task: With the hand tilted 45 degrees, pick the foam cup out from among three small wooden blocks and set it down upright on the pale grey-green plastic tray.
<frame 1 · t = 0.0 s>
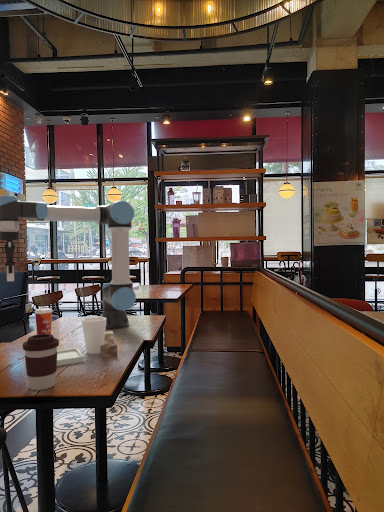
hand: (10, 280, 155), 28 cm above the table, tool pointing down, fingers open, 13 cm apart
tray: (62, 359, 131), on the table
foam cup: (95, 351, 142), on the table
coffee cup: (42, 387, 106), on the table
paper cup: (44, 340, 162), on the table
grey painted block: (44, 353, 141), on the table
walnut block: (108, 357, 134), on the table
beech block: (107, 342, 155), on the table
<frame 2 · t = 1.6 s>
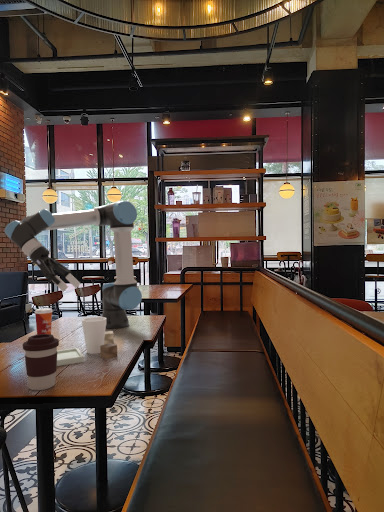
hand: (72, 287, 148), 25 cm above the table, tool tilted 45°, fingers open, 13 cm apart
nothing on the table moved.
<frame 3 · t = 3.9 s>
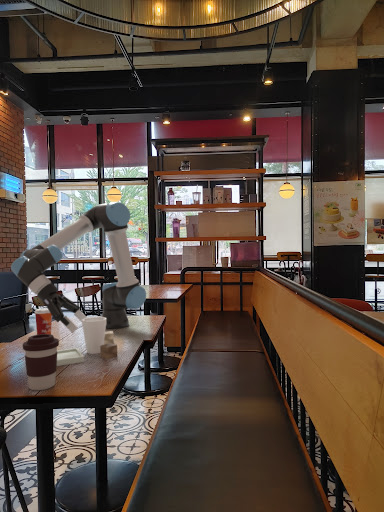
hand: (81, 326, 141), 10 cm above the table, tool tilted 45°, fingers open, 13 cm apart
nothing on the table moved.
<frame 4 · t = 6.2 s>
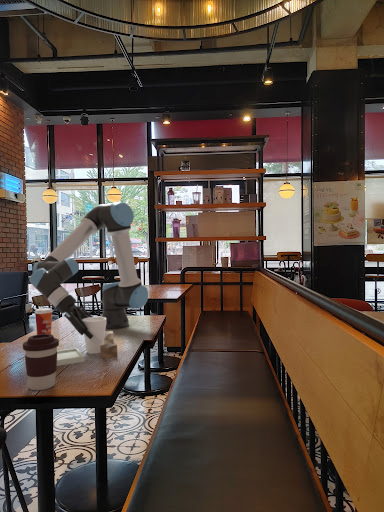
hand: (102, 339, 142), 5 cm above the table, tool tilted 45°, fingers closed on foam cup, 9 cm apart
foam cup: (95, 351, 142), on the table, touching gripper
everything else where it was.
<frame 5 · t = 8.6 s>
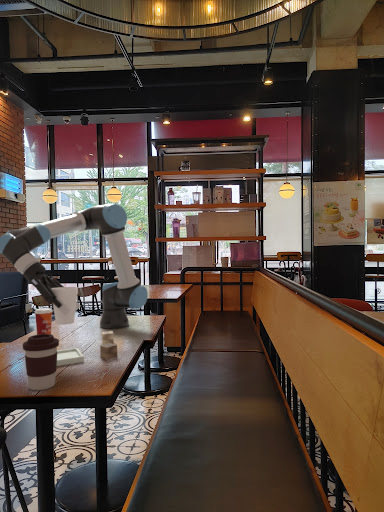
hand: (73, 310, 132), 18 cm above the table, tool tilted 45°, fingers closed on foam cup, 9 cm apart
foam cup: (65, 323, 132), point 13 cm above the table, touching gripper
everything else where it was.
when the fingers open (7 cm above the table, at t = 11.1 s): foam cup drops 1 cm, resting on tray.
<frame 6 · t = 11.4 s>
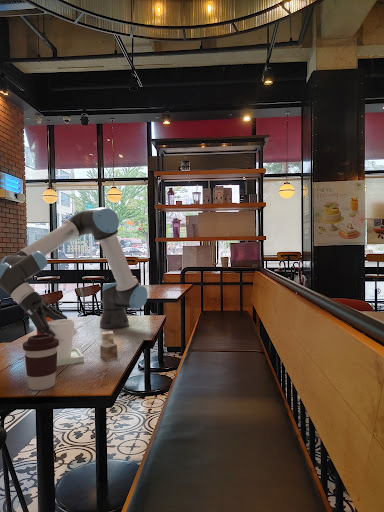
hand: (68, 338, 131), 8 cm above the table, tool tilted 45°, fingers open, 12 cm apart
foam cup: (61, 357, 131), point 1 cm above the table, touching tray
everything else where it was.
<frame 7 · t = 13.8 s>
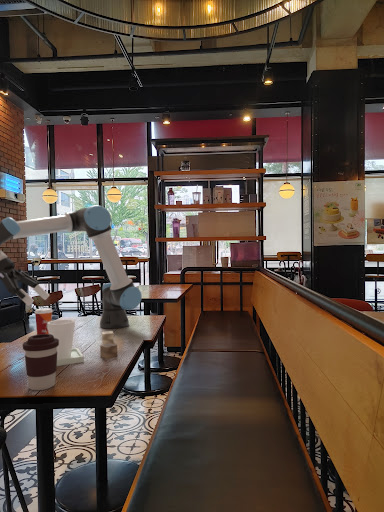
hand: (39, 300, 140), 21 cm above the table, tool tilted 45°, fingers open, 13 cm apart
nothing on the table moved.
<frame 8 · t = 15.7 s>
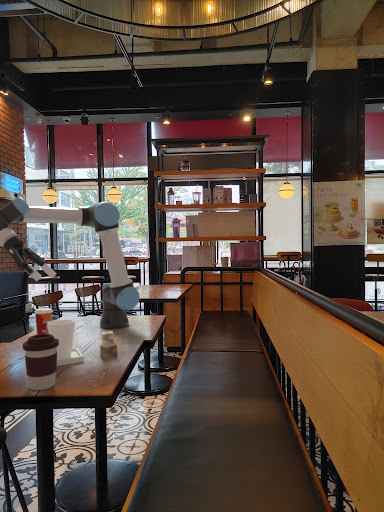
hand: (47, 277, 145), 30 cm above the table, tool tilted 45°, fingers open, 13 cm apart
nothing on the table moved.
at the end: foam cup inside the target area on the tray (0.2 cm from its centre), point 1.0 cm above the tray's base; foam cup tilted 0°; the gripper is holding nothing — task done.
